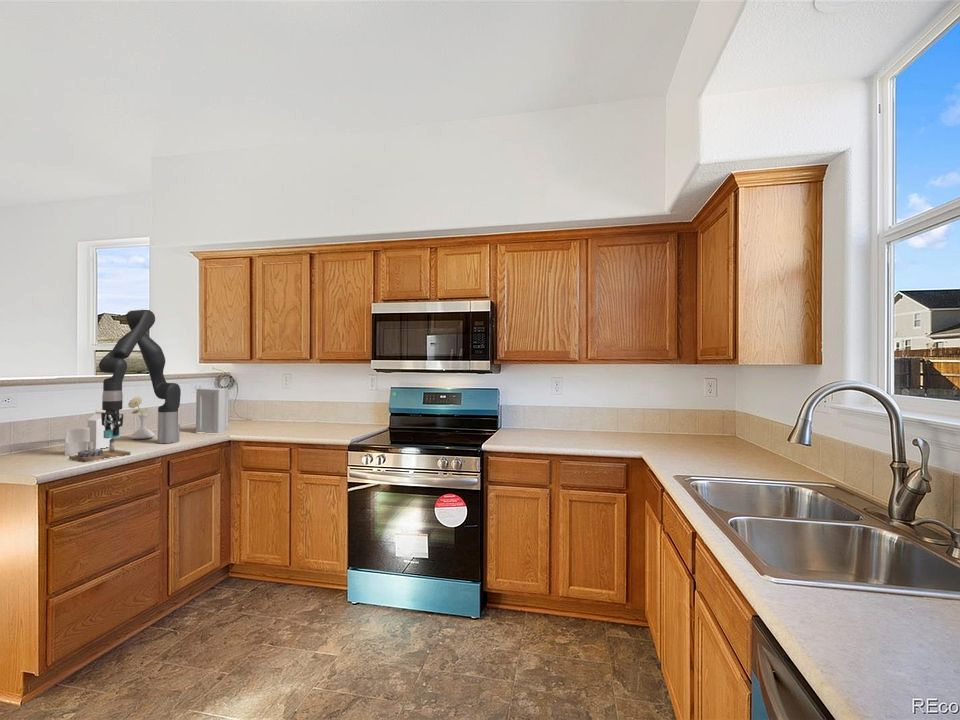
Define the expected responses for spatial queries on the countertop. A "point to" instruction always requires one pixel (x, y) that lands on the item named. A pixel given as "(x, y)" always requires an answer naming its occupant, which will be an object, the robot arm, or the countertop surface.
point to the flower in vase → (143, 431)
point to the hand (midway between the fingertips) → (111, 435)
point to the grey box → (212, 410)
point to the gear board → (98, 453)
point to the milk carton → (98, 431)
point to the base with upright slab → (76, 440)
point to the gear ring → (110, 434)
